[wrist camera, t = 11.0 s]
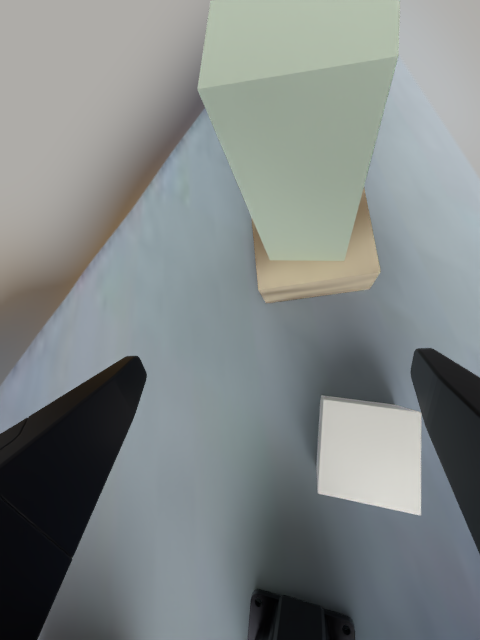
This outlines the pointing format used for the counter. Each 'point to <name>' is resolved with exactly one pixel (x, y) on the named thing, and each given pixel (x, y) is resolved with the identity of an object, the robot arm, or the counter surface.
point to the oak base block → (320, 267)
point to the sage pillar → (299, 111)
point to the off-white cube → (370, 453)
